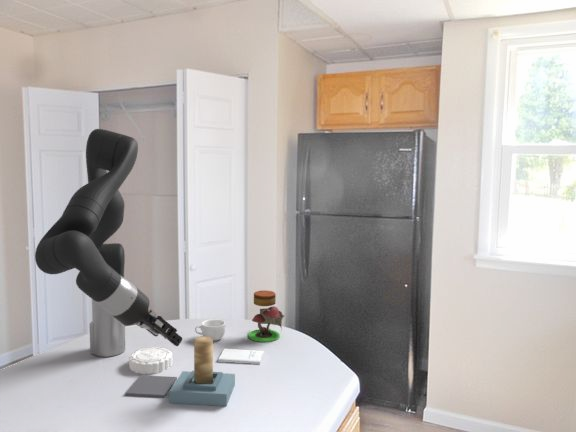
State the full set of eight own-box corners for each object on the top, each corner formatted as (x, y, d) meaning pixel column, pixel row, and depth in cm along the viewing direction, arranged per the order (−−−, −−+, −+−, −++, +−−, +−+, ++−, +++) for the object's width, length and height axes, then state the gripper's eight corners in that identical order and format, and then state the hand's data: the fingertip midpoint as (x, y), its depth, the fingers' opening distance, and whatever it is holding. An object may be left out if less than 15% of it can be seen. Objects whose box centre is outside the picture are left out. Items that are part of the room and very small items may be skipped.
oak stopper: (192, 385, 116) (191, 343, 115) (196, 377, 121) (196, 336, 119) (210, 386, 116) (210, 343, 114) (214, 378, 120) (214, 337, 119)
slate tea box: (169, 402, 113) (169, 387, 113) (182, 382, 124) (182, 367, 124) (226, 406, 112) (226, 390, 112) (234, 384, 123) (235, 370, 123)
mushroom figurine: (271, 346, 150) (271, 300, 148) (239, 338, 157) (240, 294, 155) (290, 335, 160) (291, 292, 158) (260, 327, 167) (261, 286, 165)
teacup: (225, 334, 160) (225, 318, 159) (225, 342, 152) (225, 326, 152) (195, 335, 159) (195, 319, 158) (194, 343, 151) (194, 327, 150)
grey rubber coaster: (125, 395, 117) (125, 393, 117) (140, 377, 127) (140, 375, 127) (164, 397, 116) (164, 395, 116) (177, 379, 126) (176, 377, 126)
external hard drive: (224, 353, 146) (264, 355, 144) (218, 364, 137) (260, 366, 136) (224, 348, 145) (264, 350, 144) (218, 358, 137) (260, 361, 136)
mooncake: (181, 365, 135) (180, 353, 134) (143, 379, 126) (143, 366, 126) (158, 353, 143) (158, 342, 143) (121, 365, 134) (121, 353, 134)
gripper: (151, 291, 96) (196, 331, 106) (116, 279, 106) (161, 316, 116) (127, 322, 93) (177, 360, 103) (94, 307, 102) (142, 343, 112)
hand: (168, 337), depth 109 cm, fingers open, 8 cm apart
